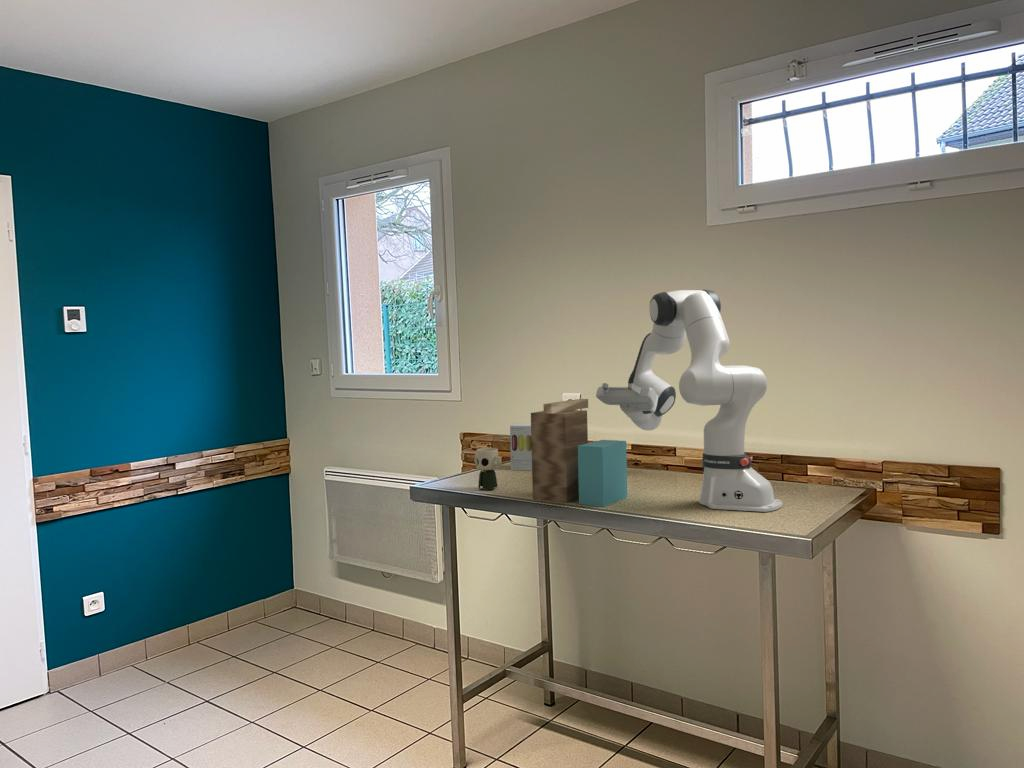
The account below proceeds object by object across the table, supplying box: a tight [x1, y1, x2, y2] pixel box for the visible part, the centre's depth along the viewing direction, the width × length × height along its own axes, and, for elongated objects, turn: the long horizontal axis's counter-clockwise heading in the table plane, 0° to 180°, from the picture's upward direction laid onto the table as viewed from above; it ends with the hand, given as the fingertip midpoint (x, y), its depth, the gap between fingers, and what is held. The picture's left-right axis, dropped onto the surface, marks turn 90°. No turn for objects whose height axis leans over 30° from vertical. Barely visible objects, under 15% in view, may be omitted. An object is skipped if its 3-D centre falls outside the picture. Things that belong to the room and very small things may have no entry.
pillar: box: [530, 409, 589, 504], centre depth 235 cm, size 12×13×26 cm
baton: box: [542, 398, 589, 414], centre depth 238 cm, size 3×22×3 cm, turn 145°
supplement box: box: [509, 422, 532, 471], centre depth 292 cm, size 10×9×17 cm
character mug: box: [474, 447, 501, 490], centre depth 251 cm, size 11×7×13 cm, turn 49°
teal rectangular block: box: [578, 439, 628, 508], centre depth 228 cm, size 8×15×17 cm, turn 145°
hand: (616, 385), depth 252 cm, fingers open, 8 cm apart
